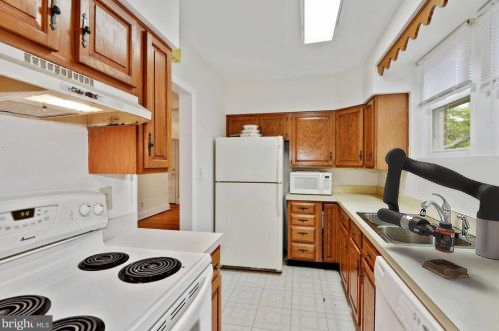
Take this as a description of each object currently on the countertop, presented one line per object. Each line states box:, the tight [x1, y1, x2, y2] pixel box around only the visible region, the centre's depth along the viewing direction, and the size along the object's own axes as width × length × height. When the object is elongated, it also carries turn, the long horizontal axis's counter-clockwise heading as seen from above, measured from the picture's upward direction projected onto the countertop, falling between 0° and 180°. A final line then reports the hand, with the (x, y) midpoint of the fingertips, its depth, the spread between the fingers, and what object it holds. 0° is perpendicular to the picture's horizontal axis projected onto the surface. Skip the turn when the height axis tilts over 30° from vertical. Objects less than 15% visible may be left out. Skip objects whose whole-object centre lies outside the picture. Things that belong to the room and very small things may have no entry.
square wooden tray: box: [421, 258, 470, 280], centre depth 96 cm, size 10×10×3 cm
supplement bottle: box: [434, 221, 456, 254], centre depth 96 cm, size 6×6×11 cm
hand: (451, 236), depth 94 cm, fingers closed on supplement bottle, 6 cm apart
